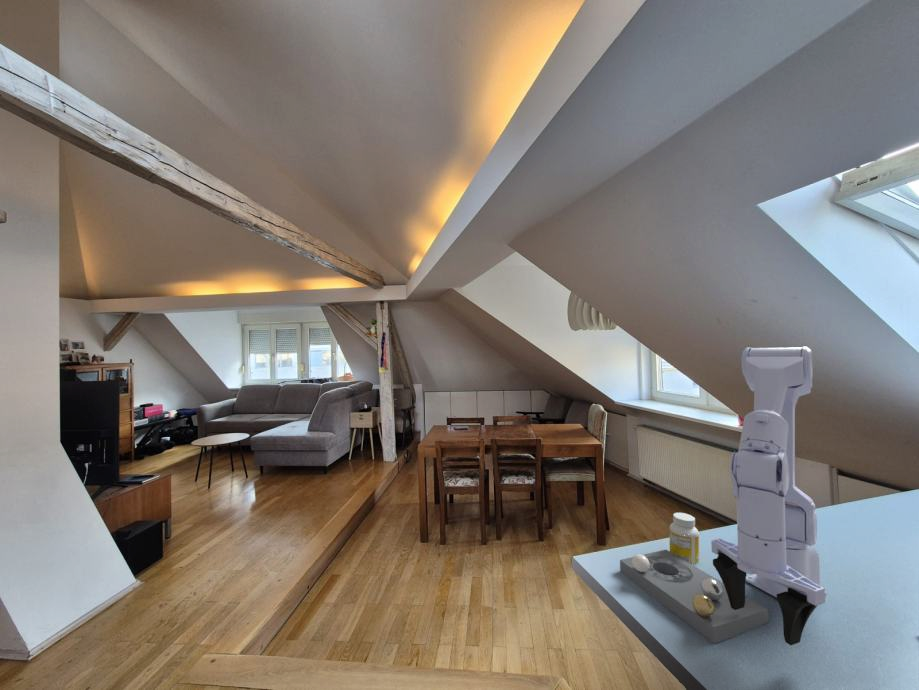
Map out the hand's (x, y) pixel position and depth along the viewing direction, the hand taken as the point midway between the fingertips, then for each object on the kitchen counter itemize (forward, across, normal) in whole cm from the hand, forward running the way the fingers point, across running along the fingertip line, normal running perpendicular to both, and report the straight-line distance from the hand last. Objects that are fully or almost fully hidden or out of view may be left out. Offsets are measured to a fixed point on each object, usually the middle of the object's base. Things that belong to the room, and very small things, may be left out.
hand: (763, 623), depth 57 cm
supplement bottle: (+4, -22, +9) cm, 24 cm away
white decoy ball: (0, -19, -5) cm, 19 cm away
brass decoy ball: (0, -6, -5) cm, 8 cm away
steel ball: (0, -8, 0) cm, 8 cm away
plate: (+4, -13, 0) cm, 14 cm away
